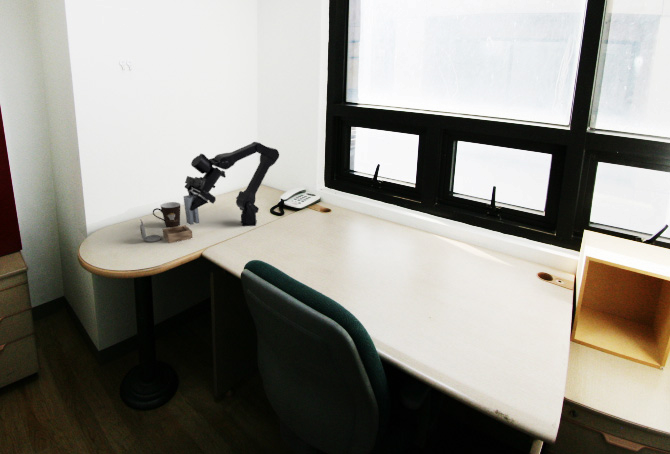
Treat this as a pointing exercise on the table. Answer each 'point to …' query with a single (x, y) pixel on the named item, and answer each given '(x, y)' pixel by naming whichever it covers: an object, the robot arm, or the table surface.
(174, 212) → the coffee mug
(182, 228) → the open wooden box
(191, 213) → the tall gray prism
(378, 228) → the table surface
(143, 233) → the pocket watch
